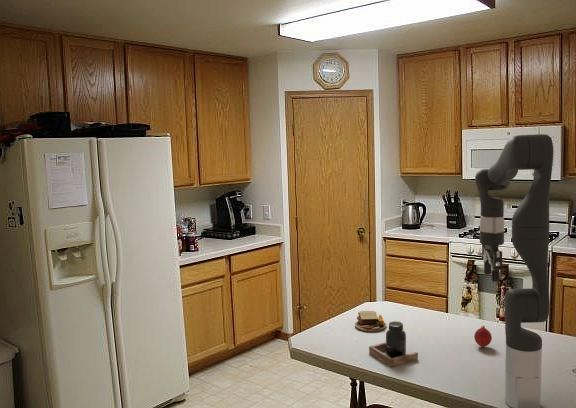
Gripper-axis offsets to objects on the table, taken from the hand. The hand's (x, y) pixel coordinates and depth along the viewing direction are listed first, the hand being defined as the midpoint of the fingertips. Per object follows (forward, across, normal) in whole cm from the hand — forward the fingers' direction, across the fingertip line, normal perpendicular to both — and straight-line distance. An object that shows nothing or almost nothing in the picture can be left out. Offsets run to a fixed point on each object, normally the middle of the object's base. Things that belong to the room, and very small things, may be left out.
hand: (491, 277), depth 175 cm
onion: (+28, -9, 0) cm, 30 cm away
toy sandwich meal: (+29, -31, -38) cm, 57 cm away
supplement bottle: (+28, -2, -31) cm, 42 cm away
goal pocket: (+28, -2, -32) cm, 43 cm away
